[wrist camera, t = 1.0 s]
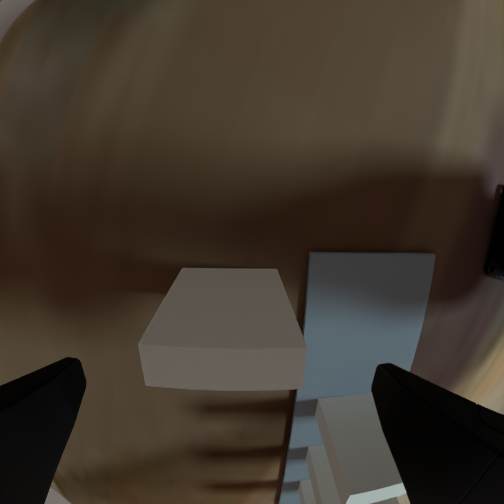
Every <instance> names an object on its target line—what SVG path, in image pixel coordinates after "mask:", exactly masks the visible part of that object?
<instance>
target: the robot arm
mask: <svg viewBox="0 0 504 504" xmlns="http://www.w3.org/2000/svg"><path fill="white" fill-rule="evenodd" d="M490 268H491V269H490ZM484 272H485V274H487V275H489V276H492V277H495V278H499V279H502V280H504V189H503V193H502V199H501V204H500V209H499V214H498V218H497V223H496V227H495V231H494V235H493V239H492V243H491V247H490V250H489V254H488V257H487V261H486V264H485V268H484ZM85 389H86V378H85V375H84V371H83V368H82V364H81V362H80V360H79V359H77V358H71V357H66V358H64V359H62V360H59V361H57V362H55V363H52V364H50V365H48V366H46V367H43V368H41V369H39V370H36V371H34V372H32V373H29V374H27V375H25V376H22V377H20V378H18V379H15V380H13V381H10V382H8V383H6V384H3V385H1V386H0V504H44V503H45V500H46V497H47V494H48V492H49V489H50V486H51V483H52V480H53V478H54V475H55V472H56V469H57V467H58V464H59V462H60V459H61V456H62V454H63V451H64V449H65V446H66V444H67V441H68V439H69V436H70V434H71V432H72V429H73V427H74V424H75V421H76V418H77V414H78V411H79V408H80V405H81V401H82V398H83V395H84V392H85ZM371 392H372V396H373V399H374V403H375V406H376V410H377V413H378V417H379V421H380V424H381V428H382V431H383V434H384V436H385V439H386V441H387V444H388V446H389V449H390V451H391V454H392V456H393V459H394V461H395V464H396V467H397V469H398V472H399V474H400V477H401V480H402V482H403V485H404V488H405V490H406V493H407V496H408V498H409V501H410V504H504V415H502V414H500V413H497V412H495V411H492V410H490V409H488V408H485V407H483V406H481V405H479V404H477V405H476V403H474V402H472V401H470V400H468V399H466V398H463V397H461V396H459V395H457V394H455V393H453V392H450V391H448V390H446V389H444V388H442V387H440V386H438V385H436V384H433V383H431V382H429V381H427V380H425V379H423V378H421V377H419V376H417V375H415V374H413V373H411V372H409V371H407V370H404V369H402V368H400V367H398V366H396V365H394V364H392V363H383V364H379V365H378V366H377V367H376V370H375V374H374V378H373V382H372V386H371Z"/></svg>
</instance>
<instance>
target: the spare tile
mask: <svg viewBox="0 0 504 504" xmlns="http://www.w3.org/2000/svg"><path fill="white" fill-rule="evenodd" d="M138 347H139V353H140V359H141V364H142V370H143V375H144V380H145V385H146V386H154V387H165V388H179V389H196V390H225V391H262V390H291V389H302V384H303V377H304V369H305V361H306V353H307V346H306V343H305V340H304V338H303V335H302V332H301V330H300V327H299V325H298V322H297V319H296V317H295V314H294V312H293V309H292V306H291V304H290V301H289V299H288V296H287V293H286V291H285V288H284V286H283V283H282V281H281V278H280V275H279V273H278V270H277V269H246V268H182V269H181V271H180V273H179V274H178V276H177V278H176V279H175V281H174V283H173V284H172V286H171V288H170V289H169V291H168V293H167V295H166V296H165V298H164V300H163V301H162V303H161V305H160V307H159V308H158V310H157V312H156V313H155V315H154V317H153V319H152V320H151V322H150V324H149V326H148V327H147V329H146V331H145V333H144V335H143V336H142V338H141V340H140V342H139V343H138Z"/></svg>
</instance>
